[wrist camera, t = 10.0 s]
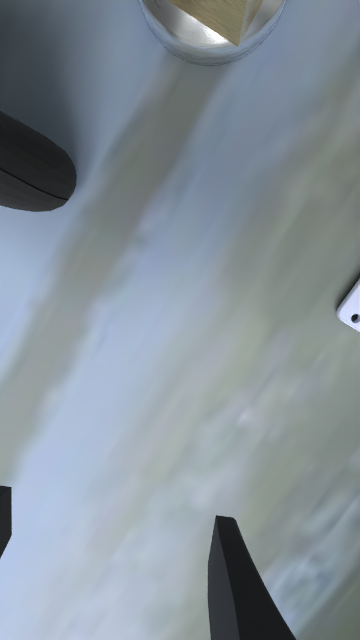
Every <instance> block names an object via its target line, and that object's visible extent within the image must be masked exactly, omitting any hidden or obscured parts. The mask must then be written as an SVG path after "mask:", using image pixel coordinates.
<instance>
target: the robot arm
mask: <svg viewBox="0 0 360 640" xmlns="http://www.w3.org/2000/svg"><path fill="white" fill-rule="evenodd" d="M354 314H358V318H357V320H355V321H353V322H352V321H351V317H352V316H353V315H354ZM337 317H338V318H339V319H340V320H341V321H343V322H344V323H346V324H348V325H349V326H351V327H352V328H354V329H356V330H357V331H359V332H360V279H359V280H358V282H357V283H356V284H355V286H354V287H353V288H352V290H351V291H350V292H349V294H348V295H347V297H346V298H345V299H344V301H343V302H342V303H341V305H340V306H339V307H338V309H337ZM11 535H12V517H11V487H6V486H0V558H1V556H2V554H3V552H4V550H5V548H6V546H7V544H8V542H9V540H10V537H11ZM208 608H209V621H210V633H211V640H296V638H295V637H294V635H293V634H292V632H291V631H290V629H289V627H288V626H287V624H286V622H285V621H284V619H283V617H282V616H281V614H280V612H279V611H278V609H277V607H276V605H275V603H274V602H273V600H272V598H271V596H270V594H269V593H268V591H267V589H266V587H265V585H264V583H263V581H262V579H261V577H260V575H259V573H258V571H257V569H256V567H255V565H254V563H253V561H252V559H251V556H250V554H249V552H248V550H247V547H246V545H245V543H244V540H243V538H242V535H241V533H240V530H239V528H238V525H237V522H236V520H235V519H234V518H231V517H224V516H217V515H216V518H215V524H214V530H213V536H212V542H211V549H210V555H209V561H208Z"/></svg>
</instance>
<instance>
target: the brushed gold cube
mask: <svg viewBox="0 0 360 640" xmlns="http://www.w3.org/2000/svg"><path fill="white" fill-rule="evenodd" d="M168 1H169V2H171V3H172V4H174V5H175V6H177V7H178V8H180V9H181V10H183V11H184V12H186V13H187V14H189V15H190V16H192V17H193V18H195V19H196V20H198V21H199V22H201V23H202V24H204V25H205V26H207V27H208V28H210V29H211V30H213V31H214V32H216V33H217V34H219V35H220V36H222V37H223V38H225V39H226V40H228V41H229V42H231V43H232V44H234V45H235V46H237V47H239V45H240V43H241V41H242V39H243V37H244V36H245V34H246V32H247V30H248V28H249V26H250V25H251V23H252V21H253V19H254V17H255V15H256V13H257V12H258V10H259V8H260V6H261V4H262V2H263V1H264V0H168Z"/></svg>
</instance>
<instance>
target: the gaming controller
mask: <svg viewBox="0 0 360 640" xmlns="http://www.w3.org/2000/svg"><path fill="white" fill-rule="evenodd" d="M75 186H76V171H75V167H74V165H73V163H72V161H71V159H70V158H69V156H68V155H67V153H66V152H65V151H63V150H62V149H61V148H60V147H58V146H57V145H56V144H55V143H53V142H52V141H51V140H50V139H48V138H46V137H45V136H43V135H42V134H40V133H38V132H37V131H35V130H33V129H31V128H29V127H28V126H26V125H24V124H22V123H20V122H19V121H17V120H15V119H13V118H11V117H10V116H8V115H6V114H4V113H3V112H1V111H0V205H1V206H5V207H9V208H13V209H19V210H25V211H32V212H40V211H51V210H54V209H56V208H58V207H61V206H63V205H64V204H65V203H66V202H67V201H68V200H69V199H68V198H70V197H71V195H72V193H73V192H74V189H75Z"/></svg>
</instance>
